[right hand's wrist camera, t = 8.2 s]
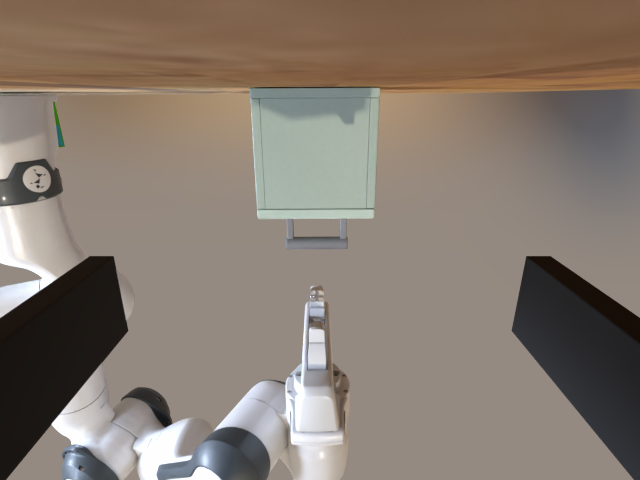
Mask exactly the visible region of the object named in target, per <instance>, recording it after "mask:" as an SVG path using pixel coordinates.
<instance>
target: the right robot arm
mask: <svg viewBox="0 0 640 480" xmlns="http://www.w3.org/2000/svg"><path fill="white" fill-rule="evenodd" d="M127 332H128V327H127V322H126V317H125V312H124V307H123V302H122V297H121V291H120V286H119V281H118V276H117V271H116V266H115V261H114V257H113V256H89V257H88V258H86V259H85V260H83V261H82V262H81V263H79V264H78V265H76V266H75V267H73V268H72V269H70V270H69V271H67V272H66V273H65V274H63V275H62V276H60V277H59V278H57V279H56V280H54V281H53V282H52V283H50V284H49V285H47V286H46V287H44V288H43V289H41V290H40V291H38V292H37V293H36V294H34V295H33V296H31V297H30V298H28V299H27V300H25V301H24V302H23V303H21V304H20V305H18V306H17V307H15V308H14V309H12V310H11V311H9V312H8V313H7V314H5V315H4V316H2V317H1V318H0V480H6V479H7V478H8V477H9V475H10V474H11V473H12V472H13V470H14V469H15V468H16V467H17V466H18V464H19V463H20V462H21V461H22V460H23V458H24V457H25V456H26V455H27V453H28V452H29V451H30V450H31V449H32V447H33V446H34V445H35V444H36V443H37V441H38V440H39V439H40V438H41V436H42V435H43V434H44V433H45V431H46V430H47V429H48V428H49V427H50V425H51V424H52V423H53V422H54V421H55V419H56V418H57V417H58V416H59V415H60V413H61V412H62V411H63V410H64V408H65V407H66V406H67V405H68V404H69V402H70V401H71V400H72V399H73V397H74V396H75V395H76V394H77V393H78V391H79V390H80V389H81V388H82V387H83V385H84V384H85V383H86V382H87V380H88V379H89V378H90V377H91V376H92V374H93V373H94V372H95V371H96V369H97V368H98V367H99V366H100V365H101V363H102V362H103V361H104V360H105V358H106V357H107V356H108V355H109V354H110V352H111V351H112V350H113V349H114V347H115V346H116V345H117V344H118V343H119V341H120V340H121V339H122V338H123V337H124V335H125V334H126V333H127ZM512 332H513V333H514V334H515V335H516V337H517V338H518V339H519V340H520V341H521V343H522V344H523V345H524V346H525V348H526V349H527V350H528V351H529V352H530V354H531V355H532V356H533V357H534V358H535V360H536V361H537V362H538V363H539V365H540V366H541V367H542V368H543V369H544V371H545V372H546V373H547V374H548V376H549V377H550V378H551V379H552V380H553V382H554V383H555V384H556V385H557V387H558V388H559V389H560V390H561V391H562V393H563V394H564V395H565V396H566V397H567V399H568V400H569V401H570V402H571V404H572V405H573V406H574V407H575V408H576V410H577V411H578V412H579V413H580V415H581V416H582V417H583V418H584V419H585V421H586V422H587V423H588V424H589V425H590V427H591V428H592V429H593V430H594V432H595V433H596V434H597V435H598V436H599V438H600V439H601V440H602V441H603V443H604V444H605V445H606V446H607V447H608V449H609V450H610V451H611V452H612V453H613V455H614V456H615V457H616V458H617V460H618V461H619V462H620V463H621V464H622V466H623V467H624V468H625V469H626V470H627V472H628V473H629V474H630V475H631V477H632V478H633V479H634V480H640V318H639V317H638V316H636V315H635V314H633V313H632V312H631V311H629V310H628V309H626V308H625V307H623V306H622V305H620V304H619V303H617V302H616V301H615V300H613V299H612V298H610V297H609V296H607V295H606V294H604V293H603V292H601V291H600V290H599V289H597V288H596V287H594V286H593V285H591V284H590V283H588V282H587V281H585V280H584V279H583V278H581V277H580V276H578V275H577V274H575V273H574V272H573V271H571V270H570V269H568V268H567V267H565V266H564V265H562V264H561V263H559V262H558V261H557V260H555V259H554V258H552V257H551V256H527V257H526V261H525V266H524V271H523V276H522V281H521V286H520V292H519V297H518V302H517V307H516V312H515V317H514V322H513V327H512Z"/></svg>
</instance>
